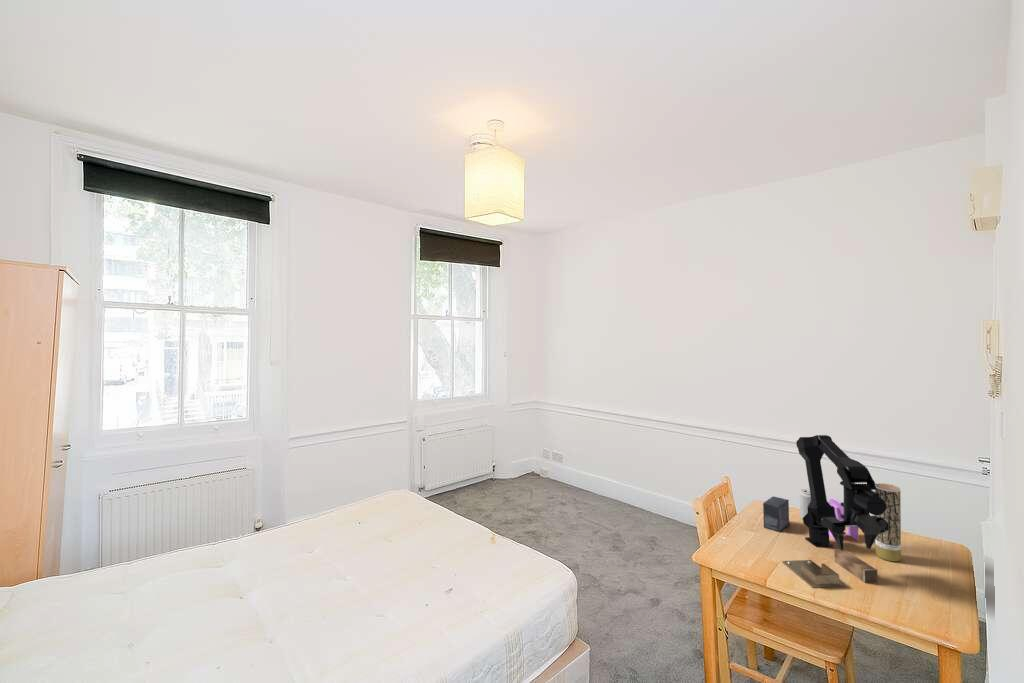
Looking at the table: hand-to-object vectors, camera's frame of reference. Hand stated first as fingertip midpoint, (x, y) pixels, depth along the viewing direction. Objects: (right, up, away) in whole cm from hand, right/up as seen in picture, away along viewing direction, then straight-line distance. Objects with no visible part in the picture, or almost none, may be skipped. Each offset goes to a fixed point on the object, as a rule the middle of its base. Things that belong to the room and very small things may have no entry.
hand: (854, 549), depth 148 cm
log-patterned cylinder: (+18, -7, +8) cm, 21 cm away
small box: (-5, -7, +35) cm, 36 cm away
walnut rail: (0, -8, 0) cm, 8 cm away
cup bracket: (-15, -8, 0) cm, 17 cm away
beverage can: (+12, -6, +40) cm, 42 cm away
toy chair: (+14, -7, +24) cm, 29 cm away
